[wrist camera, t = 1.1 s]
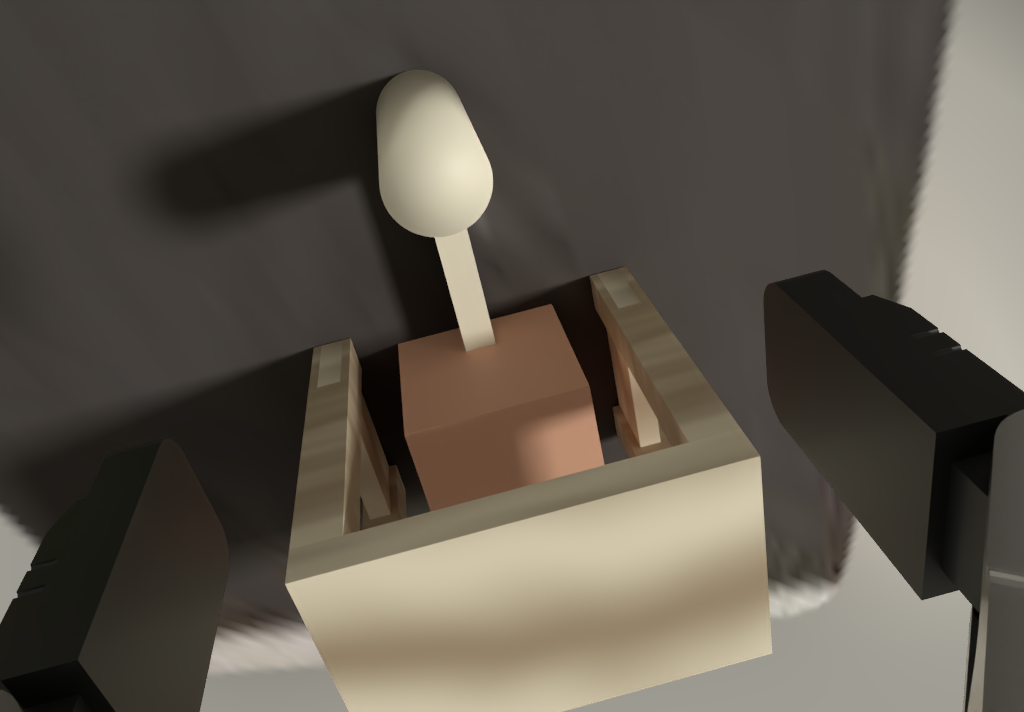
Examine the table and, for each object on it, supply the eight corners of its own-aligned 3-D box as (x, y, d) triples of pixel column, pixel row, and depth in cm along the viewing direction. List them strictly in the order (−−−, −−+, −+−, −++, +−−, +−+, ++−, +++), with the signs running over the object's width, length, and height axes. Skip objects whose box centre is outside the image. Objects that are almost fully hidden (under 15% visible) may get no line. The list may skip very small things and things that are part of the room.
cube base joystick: (315, 93, 25) (298, 159, 19) (499, 47, 26) (543, 97, 19) (437, 465, 33) (454, 601, 27) (577, 428, 33) (627, 554, 27)
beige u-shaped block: (313, 347, 30) (284, 583, 19) (625, 266, 30) (760, 455, 20) (373, 498, 34) (375, 763, 23) (649, 425, 34) (772, 653, 24)
